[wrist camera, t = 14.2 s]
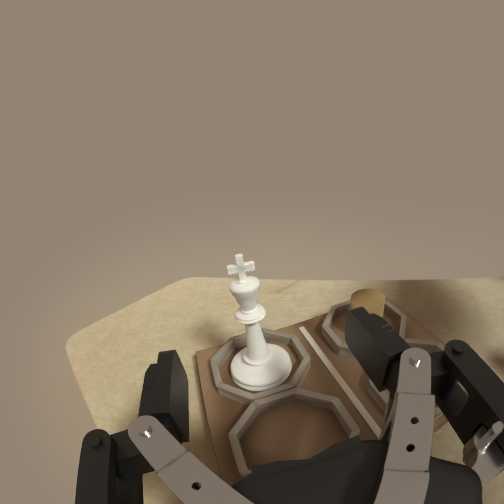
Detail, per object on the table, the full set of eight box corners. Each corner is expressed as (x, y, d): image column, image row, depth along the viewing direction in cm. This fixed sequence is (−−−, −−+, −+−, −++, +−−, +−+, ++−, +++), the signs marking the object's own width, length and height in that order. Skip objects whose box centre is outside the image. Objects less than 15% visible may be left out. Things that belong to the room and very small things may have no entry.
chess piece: (297, 384, 18) (285, 264, 15) (231, 395, 18) (195, 280, 14) (286, 343, 23) (272, 235, 19) (230, 353, 23) (203, 248, 19)
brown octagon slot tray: (378, 304, 28) (381, 264, 26) (479, 391, 13) (503, 346, 11) (199, 362, 24) (185, 321, 22) (237, 521, 9) (216, 506, 8)
